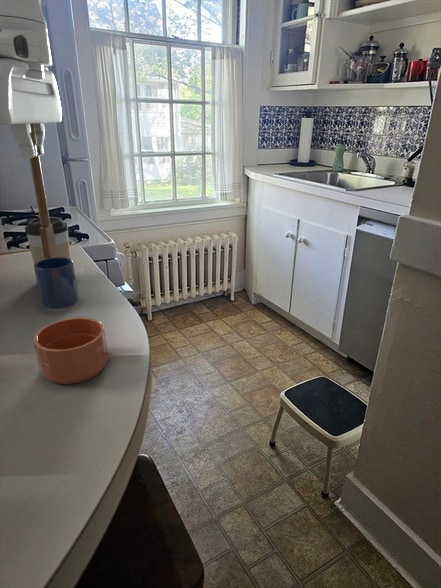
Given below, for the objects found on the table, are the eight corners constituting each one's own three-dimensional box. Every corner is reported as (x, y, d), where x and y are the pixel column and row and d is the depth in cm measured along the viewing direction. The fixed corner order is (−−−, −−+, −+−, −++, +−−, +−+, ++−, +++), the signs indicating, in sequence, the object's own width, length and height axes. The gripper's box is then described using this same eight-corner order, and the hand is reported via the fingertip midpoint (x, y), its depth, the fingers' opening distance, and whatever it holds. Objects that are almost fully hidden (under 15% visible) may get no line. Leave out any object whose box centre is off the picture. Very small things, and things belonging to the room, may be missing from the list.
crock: (36, 311, 79) (27, 269, 75) (49, 296, 85) (42, 257, 82) (72, 310, 79) (65, 269, 75) (83, 295, 86) (76, 256, 82)
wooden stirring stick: (43, 258, 64) (17, 116, 55) (49, 252, 66) (26, 116, 58) (51, 258, 64) (27, 116, 55) (58, 252, 66) (36, 116, 58)
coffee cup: (37, 276, 96) (25, 216, 89) (76, 272, 98) (67, 213, 92) (34, 291, 88) (20, 225, 82) (76, 286, 90) (66, 222, 84)
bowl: (30, 387, 57) (21, 351, 54) (54, 349, 66) (48, 317, 63) (99, 385, 57) (94, 350, 55) (114, 348, 66) (110, 316, 64)
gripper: (24, 58, 62) (39, 151, 68) (-55, 34, 44) (-25, 164, 49) (64, 59, 62) (76, 151, 68) (2, 36, 44) (25, 165, 49)
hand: (33, 157), depth 59 cm, fingers closed on wooden stirring stick, 1 cm apart
